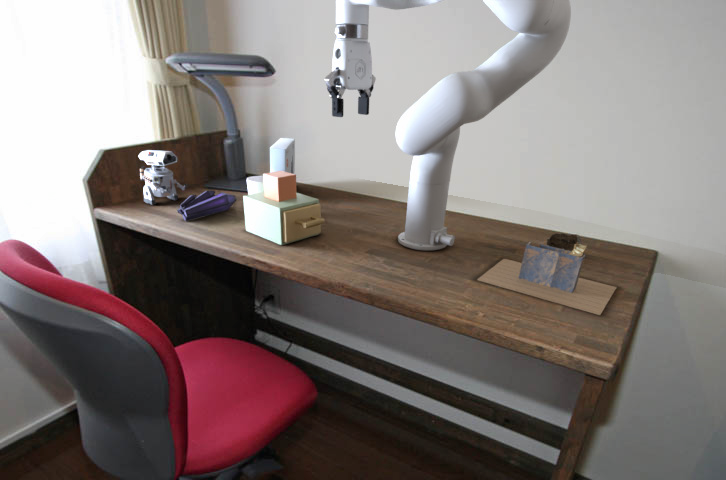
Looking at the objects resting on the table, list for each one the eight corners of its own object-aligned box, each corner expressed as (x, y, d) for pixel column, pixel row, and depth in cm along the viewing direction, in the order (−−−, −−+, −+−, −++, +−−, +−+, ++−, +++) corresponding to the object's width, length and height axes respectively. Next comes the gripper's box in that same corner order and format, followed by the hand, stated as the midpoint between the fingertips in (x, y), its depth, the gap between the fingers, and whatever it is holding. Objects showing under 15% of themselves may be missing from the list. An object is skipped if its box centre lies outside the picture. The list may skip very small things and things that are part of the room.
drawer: (332, 236, 119) (332, 208, 115) (298, 247, 112) (297, 217, 108) (287, 220, 129) (286, 193, 125) (252, 229, 122) (250, 200, 118)
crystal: (190, 202, 122) (246, 182, 135) (163, 199, 128) (219, 180, 141) (197, 229, 125) (251, 207, 139) (171, 224, 131) (224, 204, 145)
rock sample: (601, 238, 116) (584, 217, 112) (592, 264, 114) (574, 243, 110) (563, 244, 125) (545, 224, 120) (554, 268, 123) (536, 249, 119)
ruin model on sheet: (616, 287, 101) (632, 243, 96) (600, 315, 89) (616, 267, 84) (504, 258, 113) (512, 218, 108) (476, 279, 101) (484, 236, 96)
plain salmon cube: (296, 197, 119) (296, 174, 116) (278, 201, 115) (277, 177, 112) (282, 193, 122) (281, 170, 119) (264, 196, 118) (263, 173, 115)
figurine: (163, 209, 136) (154, 155, 129) (141, 201, 142) (131, 149, 135) (190, 203, 143) (183, 151, 135) (168, 196, 149) (160, 145, 141)
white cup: (244, 216, 134) (241, 180, 128) (256, 209, 140) (253, 174, 135) (270, 219, 132) (268, 183, 127) (281, 212, 139) (279, 177, 134)
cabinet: (319, 234, 123) (319, 199, 118) (281, 245, 115) (279, 208, 110) (283, 221, 131) (282, 188, 127) (245, 230, 123) (242, 195, 119)
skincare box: (287, 201, 149) (285, 148, 140) (270, 201, 149) (267, 147, 140) (296, 185, 167) (295, 137, 159) (280, 185, 167) (278, 137, 159)
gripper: (338, 32, 102) (338, 119, 110) (387, 36, 113) (383, 114, 122) (314, 32, 106) (315, 116, 114) (363, 36, 117) (361, 112, 126)
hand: (350, 115), depth 118 cm, fingers open, 9 cm apart
